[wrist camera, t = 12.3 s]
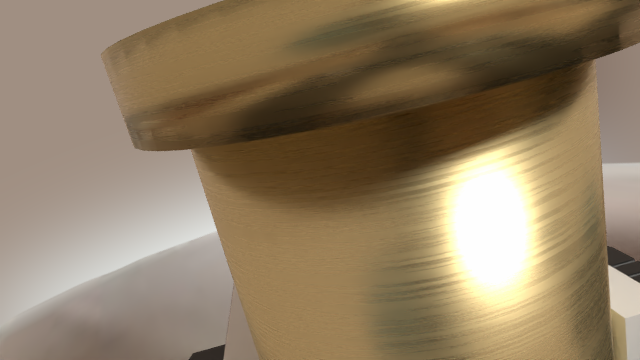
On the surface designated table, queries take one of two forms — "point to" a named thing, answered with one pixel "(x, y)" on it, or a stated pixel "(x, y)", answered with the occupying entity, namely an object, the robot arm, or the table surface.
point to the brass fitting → (394, 168)
